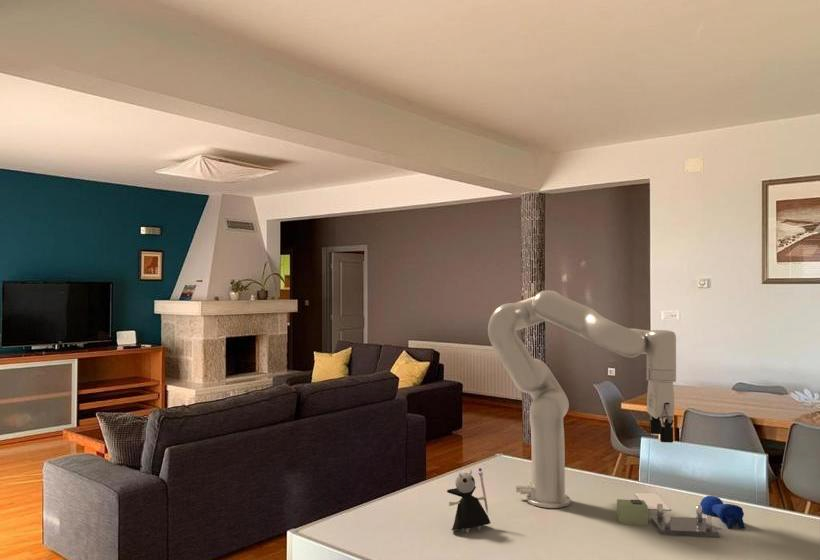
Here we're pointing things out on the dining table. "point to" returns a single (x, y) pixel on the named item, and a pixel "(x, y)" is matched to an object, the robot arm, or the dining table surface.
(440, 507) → the dining table surface
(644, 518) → the block
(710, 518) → the chassis
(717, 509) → the toy
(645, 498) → the smartphone
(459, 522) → the toy
